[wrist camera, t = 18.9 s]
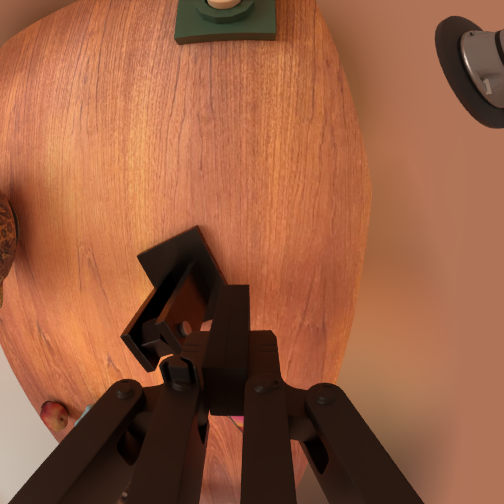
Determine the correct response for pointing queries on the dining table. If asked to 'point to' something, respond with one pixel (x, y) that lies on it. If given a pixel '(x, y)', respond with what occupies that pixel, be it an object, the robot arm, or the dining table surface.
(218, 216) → the dining table surface
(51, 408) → the fruit
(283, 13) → the dining table surface
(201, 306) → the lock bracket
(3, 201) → the ceramic bowl
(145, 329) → the lever
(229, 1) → the bell button
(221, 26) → the green button base
